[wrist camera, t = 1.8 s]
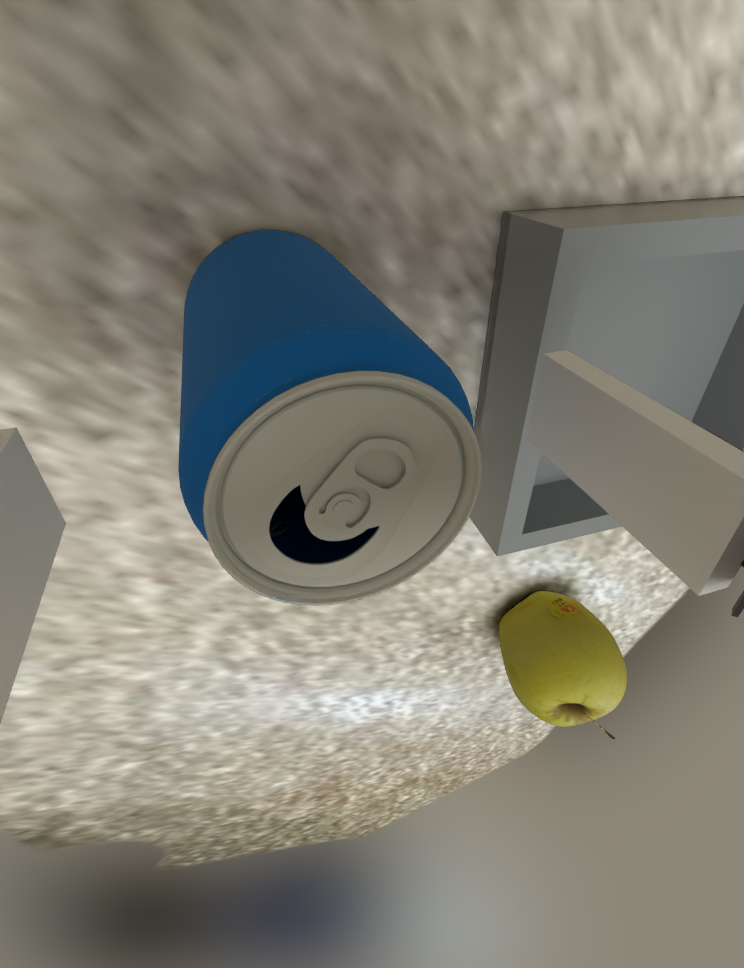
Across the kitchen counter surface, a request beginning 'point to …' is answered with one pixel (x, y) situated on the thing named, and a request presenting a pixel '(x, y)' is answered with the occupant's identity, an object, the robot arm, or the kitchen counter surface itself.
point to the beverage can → (316, 427)
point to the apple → (561, 660)
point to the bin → (605, 341)
